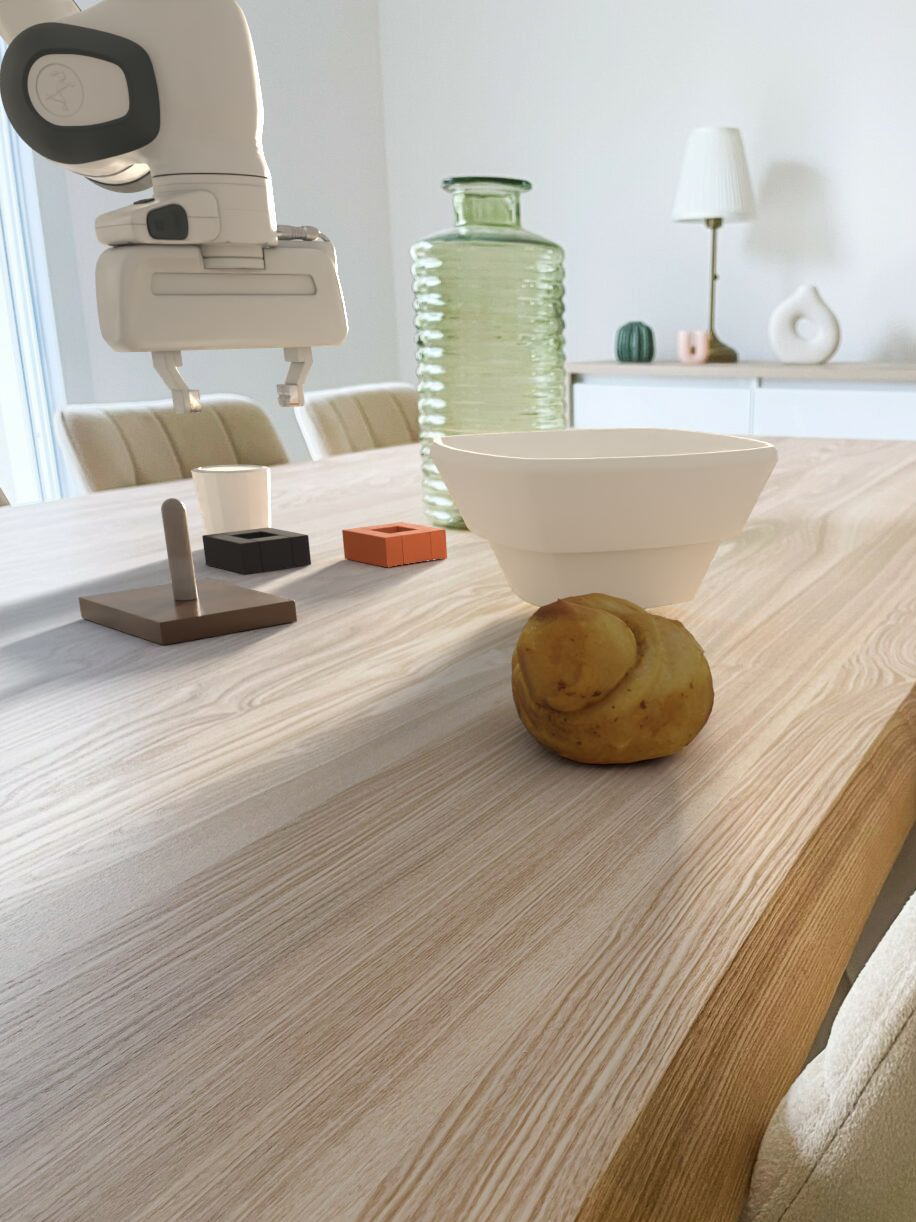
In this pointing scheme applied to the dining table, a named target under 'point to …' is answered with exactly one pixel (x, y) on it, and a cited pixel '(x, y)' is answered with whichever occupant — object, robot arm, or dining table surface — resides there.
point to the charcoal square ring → (256, 550)
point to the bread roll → (609, 681)
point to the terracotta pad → (394, 544)
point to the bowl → (604, 506)
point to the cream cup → (233, 497)
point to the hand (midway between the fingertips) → (241, 410)
